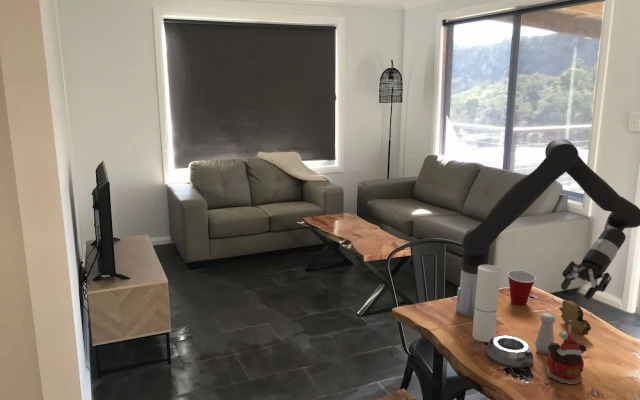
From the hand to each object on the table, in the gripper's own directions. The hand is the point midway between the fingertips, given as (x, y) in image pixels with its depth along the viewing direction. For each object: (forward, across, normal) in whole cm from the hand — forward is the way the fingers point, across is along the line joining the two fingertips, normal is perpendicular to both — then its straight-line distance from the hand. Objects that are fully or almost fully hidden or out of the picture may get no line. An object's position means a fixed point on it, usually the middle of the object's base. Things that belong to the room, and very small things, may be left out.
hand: (574, 293), depth 167 cm
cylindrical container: (+28, -17, -3) cm, 33 cm away
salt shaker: (+21, 0, +4) cm, 22 cm away
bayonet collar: (+30, -3, -5) cm, 31 cm away
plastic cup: (+4, -31, +21) cm, 38 cm away
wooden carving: (+5, -7, +21) cm, 23 cm away
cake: (+26, +12, 0) cm, 29 cm away
